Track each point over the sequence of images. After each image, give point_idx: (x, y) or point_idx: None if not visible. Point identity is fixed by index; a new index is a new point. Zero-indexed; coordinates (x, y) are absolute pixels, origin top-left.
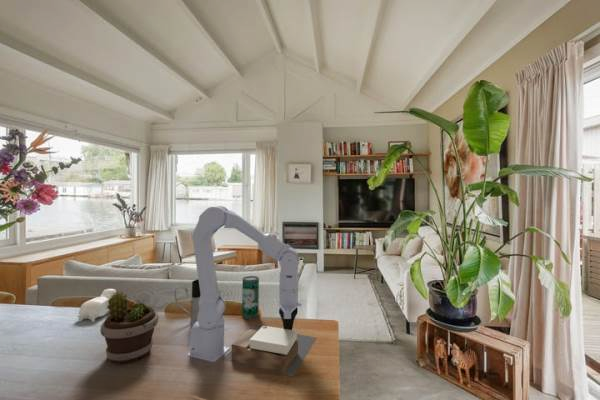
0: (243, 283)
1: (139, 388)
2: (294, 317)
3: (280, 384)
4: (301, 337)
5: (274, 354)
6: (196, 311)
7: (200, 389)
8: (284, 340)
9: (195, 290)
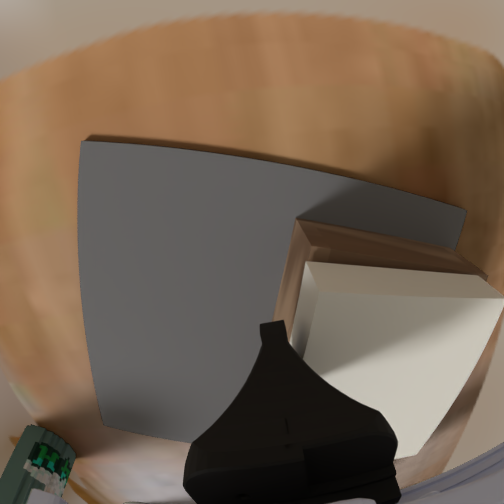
0: None
1: (429, 477)
2: (352, 401)
3: (485, 247)
4: (105, 233)
5: None
6: None
7: (460, 416)
8: (457, 331)
9: None
